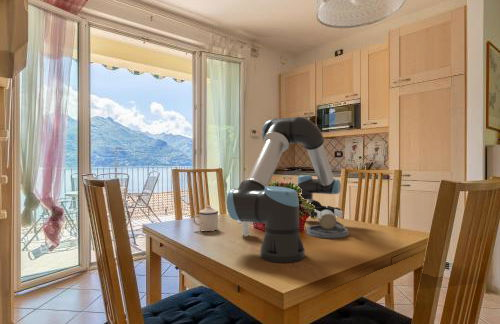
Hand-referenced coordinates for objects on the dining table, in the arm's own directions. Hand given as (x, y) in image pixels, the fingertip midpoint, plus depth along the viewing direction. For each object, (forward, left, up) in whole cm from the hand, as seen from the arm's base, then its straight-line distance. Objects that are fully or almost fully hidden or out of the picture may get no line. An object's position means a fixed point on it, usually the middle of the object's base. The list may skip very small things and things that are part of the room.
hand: (331, 215), depth 128 cm
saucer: (0, +5, -9) cm, 10 cm away
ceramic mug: (+1, +3, -7) cm, 8 cm away
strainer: (-36, +10, -9) cm, 38 cm away
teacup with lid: (-53, +24, -9) cm, 59 cm away
